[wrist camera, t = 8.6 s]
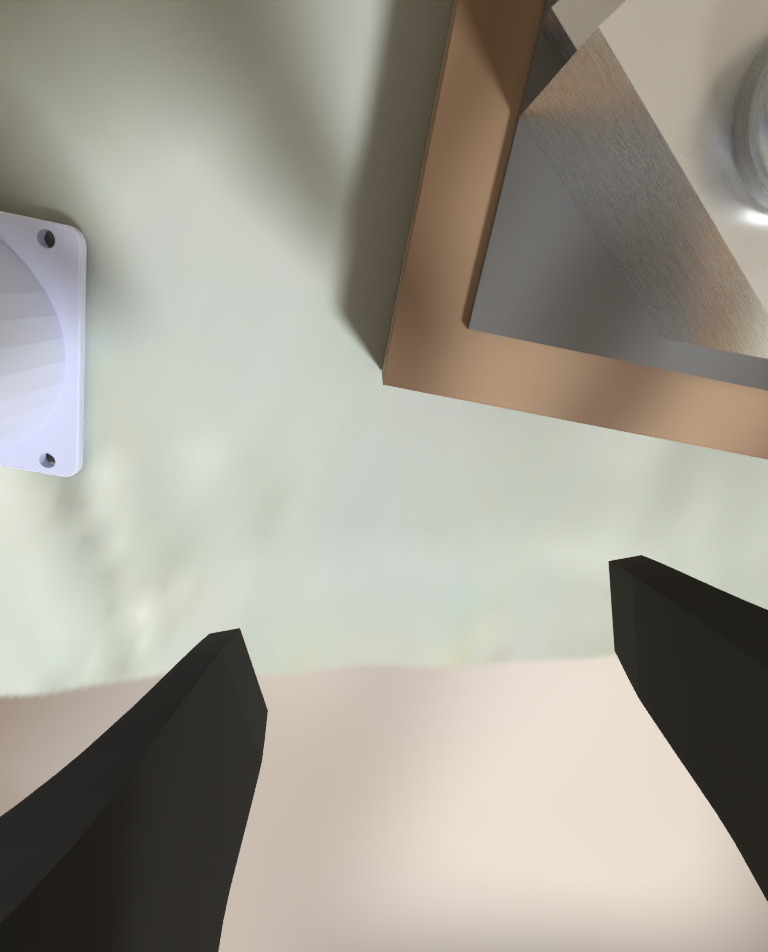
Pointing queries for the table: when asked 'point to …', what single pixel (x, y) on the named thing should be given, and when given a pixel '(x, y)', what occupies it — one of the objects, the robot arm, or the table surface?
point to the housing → (668, 154)
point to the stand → (539, 270)
